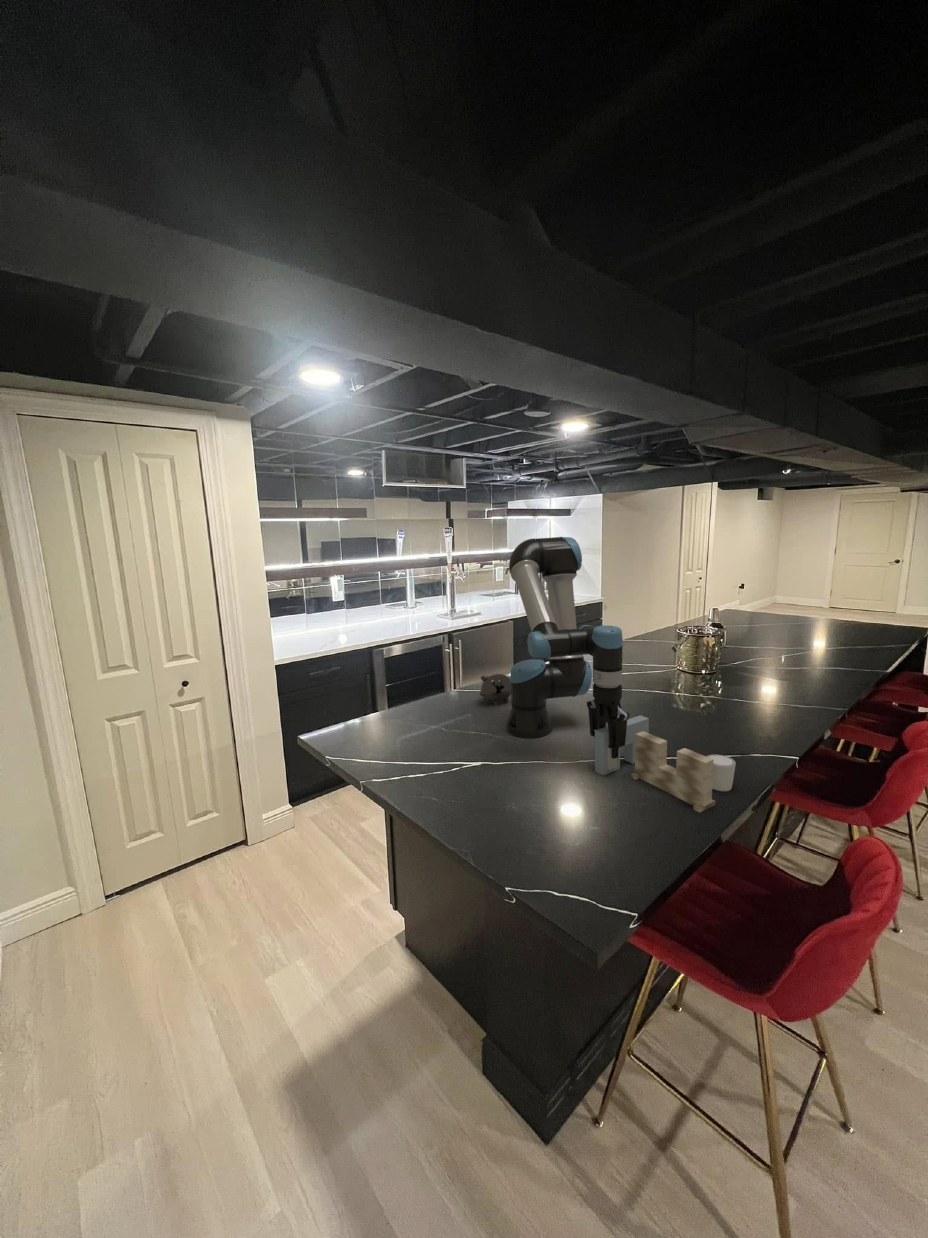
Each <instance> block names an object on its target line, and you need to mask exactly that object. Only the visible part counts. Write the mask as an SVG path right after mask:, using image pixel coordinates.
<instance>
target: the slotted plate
mask: <svg viewBox="0 0 928 1238" xmlns="http://www.w3.org/2000/svg"><path fill="white" fill-rule="evenodd" d="M649 721H650V719H649V718H648V717H646V716H643V715H641V714H640V715H637V716H634V717H631V718H628V720H627V729H626V741H625V746H622V747H623V748H624V749H623V756H624V757H623V760H624V761H626V762H627V763H629V764H632V765H633V764H634V765H635V734H637V733H640V732H642V731H644V732H646V733H649V734H650V732H649V731H650V729H649V727H650V723H649ZM594 731H595V737H594V772H596V773H598V774H599V775H602V776H603V777H604V776H606V775H608V774H611V773H613V772H616V771H619V770H621V748H622V747H619V752H618V753H619V756H618V758H617V767H615V768H613V769H610V770H609V769H608V746H609V745H610V740H609V731H608V725H606V727H604V728H601V729H598V730H594Z"/></svg>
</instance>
